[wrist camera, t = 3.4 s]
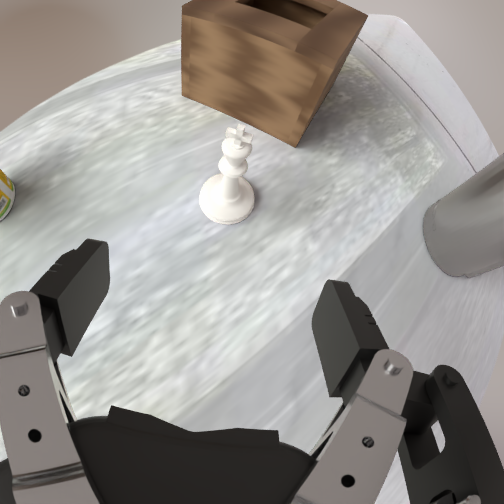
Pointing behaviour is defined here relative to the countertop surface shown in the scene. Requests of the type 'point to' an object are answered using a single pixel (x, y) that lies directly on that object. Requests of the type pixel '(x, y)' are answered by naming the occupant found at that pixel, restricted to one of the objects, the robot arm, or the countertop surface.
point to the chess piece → (230, 181)
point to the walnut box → (266, 58)
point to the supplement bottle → (6, 194)
